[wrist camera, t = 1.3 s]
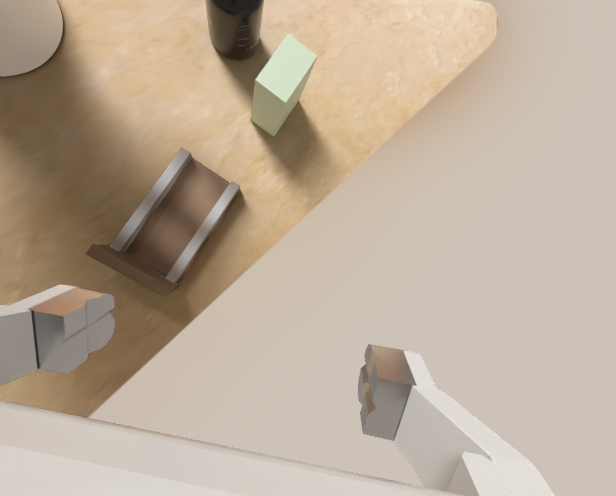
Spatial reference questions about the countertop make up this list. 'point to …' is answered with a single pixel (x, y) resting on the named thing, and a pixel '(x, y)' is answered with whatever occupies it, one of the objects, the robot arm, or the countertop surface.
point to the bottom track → (170, 225)
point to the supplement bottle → (235, 26)
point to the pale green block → (281, 84)
